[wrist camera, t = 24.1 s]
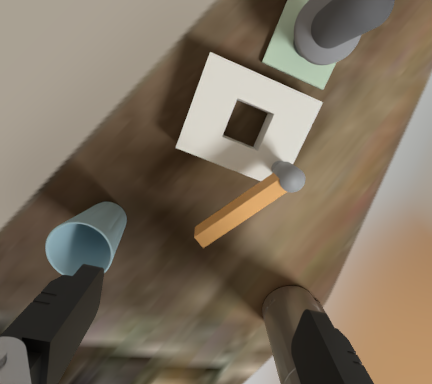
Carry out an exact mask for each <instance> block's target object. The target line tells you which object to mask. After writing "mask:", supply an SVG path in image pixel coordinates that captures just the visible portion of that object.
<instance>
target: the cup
mask: <svg viewBox="0 0 432 384" xmlns="http://www.w3.org/2000/svg"><path fill="white" fill-rule="evenodd" d="M126 223H127V217H126V213H125V212H124V210H123V209H122V208H121V207H120V206H119V205H117V204H115V203H113V202H101V203H98V204H96V205H94V206H93V207H91V208H89V209H87V210H85V211H84V212H82V213H80V214H78V215H77V216H75V217H73V218H71V219H69V220H68V221H66V222H64V223H62V224H60V225H59V226H57V227H56V228H54V229H53V230H52V231H51V233H50V234H49V235H48V237H47V240H46V245H45V250H46V255H47V258H48V260H49V262H50V264H51V265H52V266H53V267H54V268H55V269H56V270H57V271H58V272H59V273H61V274H62V275H70V276H73V275H74V274H75V273H76V271H77V270H78V269H79V268H80V267H81V266H82V265H83V264H87V265H92V266H97V267H102V268H104V273H105V272H106V271H107V270H108V268H109V267H110V265H111V263H112V260H113V258H114V255H115V252H116V249H117V247H118V244H119V242H120V239H121V237H122V234H123V232H124V229H125V226H126Z"/></svg>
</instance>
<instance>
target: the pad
mask: <svg viewBox="0 0 432 384" xmlns="http://www.w3.org/2000/svg"><path fill="white" fill-rule="evenodd" d="M308 1H309V0H287V2H286V4H285V7H284V9H283V11H282V14H281V16H280V19H279V21H278V24H277V26H276V28H275V31H274V33H273V36H272V38H271V41H270V43H269V45H268V48H267V50H266V53H265V55H264V58H263V60H262V63H264V64H266V65H268V66H270V67H273V68H275V69H277V70H279V71H281V72H284V73H286V74H288V75H290V76H292V77H295V78H297V79H299V80H301V81H303V82H305V83H308V84H310V85H312V86H314V87H316V88H319V89H321V90H323V89H324V87H325V85H326V83H327V81H328V79H329V77H330V75H331V73H332V70H333V68H334V66H335V64H336V62H335V63H332V64H329V65H315V64H312V63H310V62H308V61H307V60H305V59H304V58H303V57H301V56H299V55H298V54H297V53H296V51H295V49H294V25H295V21H296V18H297V16H298V14H299V12H300V10H301V9H302V8H303V6H304V5H305V4H306V3H307V2H308Z"/></svg>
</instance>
